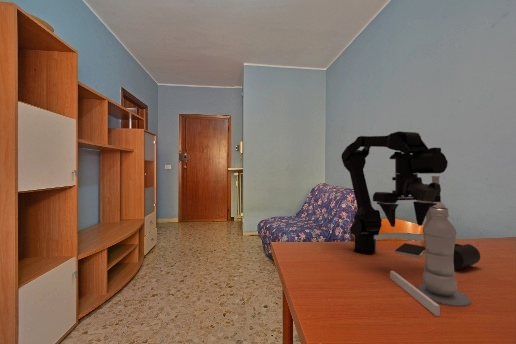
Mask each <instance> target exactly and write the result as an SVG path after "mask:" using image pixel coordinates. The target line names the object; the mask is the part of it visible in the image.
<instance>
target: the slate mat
mask: <svg viewBox="0 0 516 344" xmlns="http://www.w3.org/2000/svg"><path fill="white" fill-rule="evenodd" d="M416 288H417V289H418V290H419V291H421V292H422V293H423V294H425V295H426V296H427V297H429V298H430V299H431V300H433V301H434V302H435V303H437V304H438V303H439V304H442V305H446V306H450V307H451V306H452V307H467V306H469V305H471V303H472V302H471V301H472V300H471V298H470V297H469V296H468V295H467V294H466V293H464V292H462V291H461V290H458V289H456V292H455V293H454V294H453V295H452V296H442V295H438V294H435V293H432V292H430V291H428V290H427V289H426V287H425V286H424V284H419V285H418V286H416Z"/></svg>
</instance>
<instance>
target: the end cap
mask: <svg viewBox="0 0 516 344" xmlns="http://www.w3.org/2000/svg"><path fill="white" fill-rule="evenodd" d="M480 253H481V252H480V251H479V250H478V248H477V247H476V246H474V245H472V244H469V243H467V244H458V243H455V246H454V255H453V257H454V258H453V263H454V271H457V270H461V269H464V268H468V267H471V266H473V265H474V264H477V263H479V262H480V260H481V254H480Z"/></svg>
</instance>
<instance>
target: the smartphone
mask: <svg viewBox="0 0 516 344" xmlns="http://www.w3.org/2000/svg"><path fill="white" fill-rule="evenodd" d="M425 252H426V251H425V245H418V244H412V243H407V242H404V243H403V244H402V245H400V246H398V247H397V248H396V249H395V250H394V253H395V254H399V255H403V256H409V257H414V258H421V257H422V256H423V254H424V253H425Z"/></svg>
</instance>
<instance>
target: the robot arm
mask: <svg viewBox="0 0 516 344" xmlns="http://www.w3.org/2000/svg"><path fill="white" fill-rule="evenodd" d="M372 147H374V148H375V147H378V148H380V147H381V148H388V149H389V150H393V151H394V153H392V154H391V155H390V157H389V160H394V163H395V164H394V165H395V167H394V168H395V172H394V175H395V176H392V177H391V180H392V181H394V183H395V184H394V185H395V186H394V187H395V188H394V189H395V190H391V191H392V192H389V191H375V192H374V194H373V195H372V201H373V202H376V204H377V205H379V207H381V210H382V212H384V215H385V217H386V219H387V222H389V225H390V226H391V227H392V228H395V227H396V226H395V225H396V209H397V208H398V206H399V203H397V202H398V201H412V202H413V207H414V215H415V220H416V223H417V226H420V227H422V226H423V225H424V221H425V220H426V214H427V212H428V210H429V207H432V206H434V205H437V203H433V202H442V197H441V191H442V188H441V184H440V183H439V184H438V183H432V182H430V183H429V184H428V183H423V178H422V177H420V176H419V175H418V174H420V175H422V174H425V175H428V174H429V175H430V174H443V173H444V172H445V171H446V170H447V168H448V159H447V157H446V155H445V154H444V153H443V152H442V148H441V147H430V148H429V147H428V146H427V145H426V143H425V142H424V141H423V140H422V137H421V135H420V133H419V132H417V131H415V132H413V131H395V132H391V133H389V134H387V135H372V136H371V135H370V136H367V135H360V136H358V137H356V139H355V140H354V141H353V142H351V143H350V144H349V145H347V146H346V147H345V149H344V150H343V152H342V154H341V161H342V164H343V167H344V168H345V169H346V170H347V171H348V172H349V174H350V175H349V176H350V180H351V181H350V182H351V185H352V188H353V194H354V198H355V204H356V207H357V209H356V210H355V214H354V222H353V223H352V225H351V226H350V227H349V230H350V234H351V235H353V236H354V249H353V252H354V253H361V254H364V255H365V254H366V255H371V256H372V255H374V254H375V252H376V251H377V239H376V238H375V236H379V235H380V231H381V227H382V222H383V220H382V217H381V212H380V210H379V209H375V208H374V207H373V206H372V202H371V197H370V193H369V189H368V185H367V184H368V183H367V180H366V177H365V176H366V175H365V171H364V168H365V165H366V163H367V162H366V159H367V157H368V156H369V154H370V149H371V148H372ZM360 148H362V149H360Z"/></svg>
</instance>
